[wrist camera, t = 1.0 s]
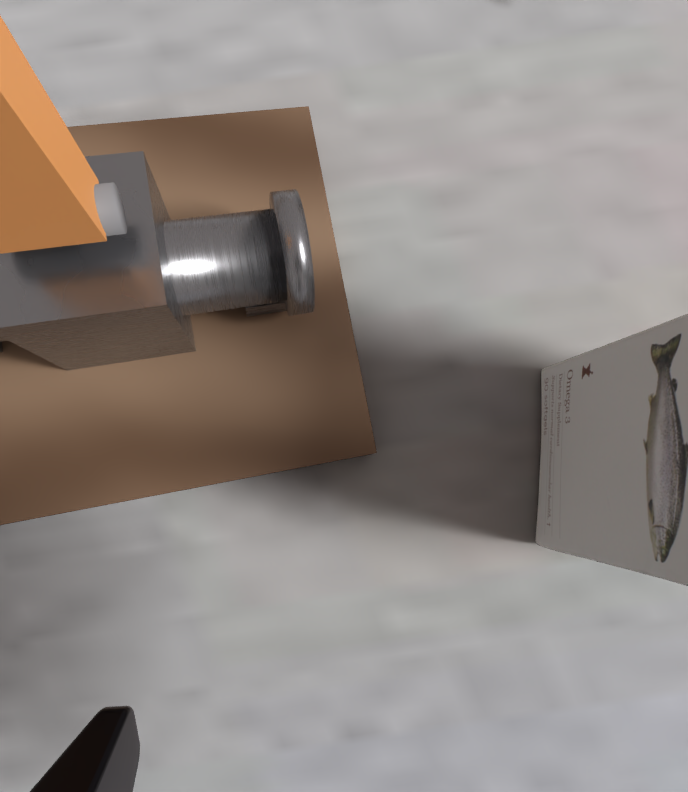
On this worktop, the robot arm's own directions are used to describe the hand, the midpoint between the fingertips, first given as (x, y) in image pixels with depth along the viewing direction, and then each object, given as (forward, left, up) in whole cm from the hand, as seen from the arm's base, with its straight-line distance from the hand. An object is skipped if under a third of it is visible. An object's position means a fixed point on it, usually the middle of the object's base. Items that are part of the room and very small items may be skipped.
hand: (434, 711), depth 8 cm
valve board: (+7, +10, -12) cm, 17 cm away
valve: (+7, +10, -11) cm, 17 cm away
